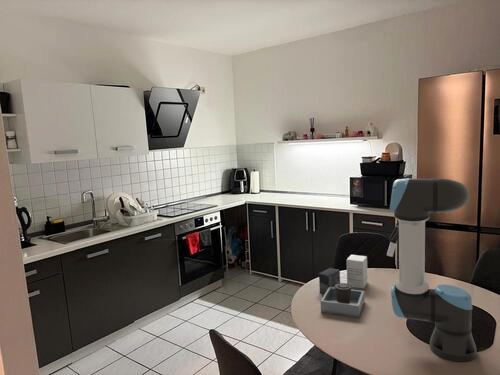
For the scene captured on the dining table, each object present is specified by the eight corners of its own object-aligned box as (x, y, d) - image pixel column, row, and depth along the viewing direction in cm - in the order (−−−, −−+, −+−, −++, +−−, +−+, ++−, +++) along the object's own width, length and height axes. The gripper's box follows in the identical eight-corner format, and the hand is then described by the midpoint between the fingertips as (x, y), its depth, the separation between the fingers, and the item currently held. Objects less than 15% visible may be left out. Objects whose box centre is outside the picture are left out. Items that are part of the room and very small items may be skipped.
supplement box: (351, 280, 210) (350, 254, 208) (367, 282, 205) (367, 256, 203) (346, 286, 202) (345, 259, 200) (363, 289, 198) (363, 261, 196)
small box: (330, 286, 204) (329, 267, 203) (341, 289, 199) (340, 269, 198) (318, 292, 197) (318, 272, 195) (329, 295, 192) (329, 275, 191)
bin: (359, 317, 167) (358, 306, 167) (320, 312, 174) (320, 301, 174) (364, 301, 183) (364, 291, 182) (329, 297, 190) (328, 286, 189)
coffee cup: (331, 305, 178) (331, 285, 177) (340, 299, 184) (339, 280, 183) (347, 310, 173) (346, 289, 171) (355, 304, 178) (355, 283, 177)
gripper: (429, 218, 164) (415, 266, 164) (404, 215, 189) (392, 256, 188) (413, 213, 164) (399, 261, 163) (389, 210, 189) (377, 251, 188)
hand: (395, 258), depth 176 cm, fingers open, 13 cm apart
